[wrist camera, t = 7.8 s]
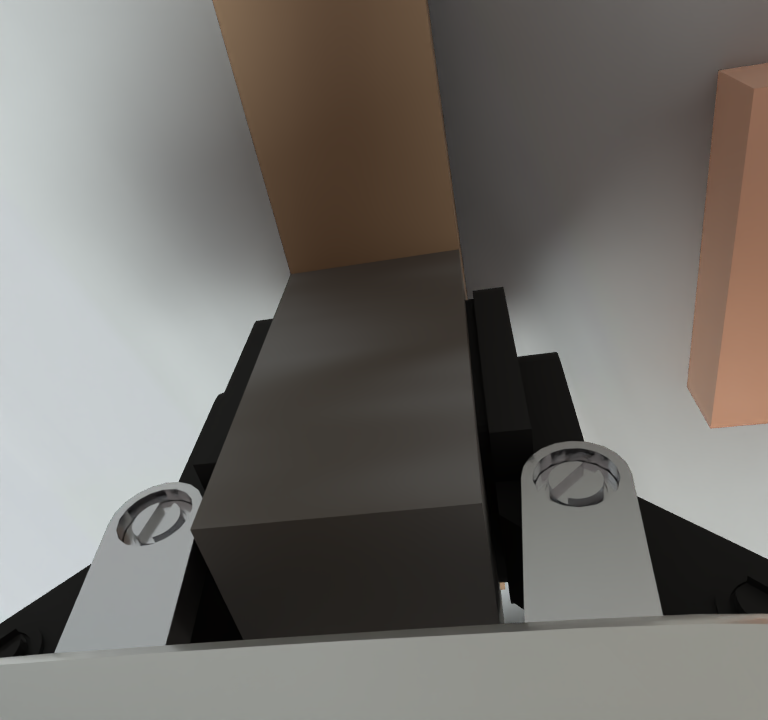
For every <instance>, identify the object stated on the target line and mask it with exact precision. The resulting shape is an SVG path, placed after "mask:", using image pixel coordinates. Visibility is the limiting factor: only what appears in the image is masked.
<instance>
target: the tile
mask: <svg viewBox="0 0 768 720" xmlns="http://www.w3.org/2000/svg"><path fill="white" fill-rule="evenodd" d="M687 388H688V389H689V391H690V393H691V395H692V397H693V398H694V400H695V402H696V404H697V405H698V407H699V409H700V411H701V413H702V414H703V416H704V418H705V420H706V421H707V423H708V425H709V427H710V428H721V427H732V426H743V425H755V424H766V423H768V63H763V64H756V65H750V66H743V67H737V68H731V69H724V70H718V80H717V90H716V100H715V110H714V120H713V131H712V141H711V151H710V161H709V171H708V181H707V191H706V201H705V211H704V221H703V231H702V241H701V251H700V261H699V271H698V281H697V291H696V301H695V311H694V321H693V331H692V341H691V351H690V361H689V371H688V381H687Z"/></svg>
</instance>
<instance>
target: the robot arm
mask: <svg viewBox="0 0 768 720" xmlns="http://www.w3.org/2000/svg"><path fill="white" fill-rule="evenodd" d="M473 298H474V299H470V300H465V304H466V314H467V325H468V336H469V346H470V357H471V368H472V379H473V389H474V400H475V411H476V421H477V431H478V439H479V447H480V454H481V461H482V469H483V476H484V483H485V490H486V497H487V504H488V511H489V518H490V525H491V532H492V539H493V546H494V553H495V560H496V567H497V574H498V581H499V583H502V582H508V585H509V593H510V600H511V604H513V603H515V604H516V605H518V606H519V607H521V608H522V609H524V623H508V624H491V625H475V626H458V627H441V628H424V629H407V630H391V631H376V632H360V633H344V634H329V635H313V636H298V637H282V638H267V639H252V640H243V638H242V636H241V634H240V632H239V630H238V628H237V626H236V624H235V622H234V619H233V617H232V615H231V613H230V611H229V609H228V607H227V605H226V603H225V601H224V599H223V597H222V595H221V593H220V591H219V589H218V586H217V584H216V582H215V580H214V578H213V576H212V574H211V572H210V570H209V568H208V566H207V564H206V562H205V560H204V558H203V556H202V553H201V551H200V549H199V547H198V545H197V543H196V541H195V539H194V537H193V535H192V533H191V531H190V529H191V526H192V524H193V521H194V518H195V516H196V513H197V511H198V508H199V506H200V503H201V501H202V498H203V496H204V493H205V491H206V488H207V486H208V483H209V480H210V478H211V475H212V473H213V470H214V468H215V465H216V463H217V460H218V458H219V455H220V453H221V450H222V447H223V445H224V442H225V440H226V437H227V435H228V432H229V430H230V427H231V425H232V422H233V420H234V417H235V414H236V412H237V409H238V407H239V404H240V402H241V399H242V397H243V394H244V392H245V389H246V387H247V384H248V382H249V379H250V376H251V374H252V371H253V369H254V366H255V364H256V361H257V359H258V356H259V354H260V351H261V349H262V346H263V343H264V341H265V338H266V336H267V333H268V331H269V328H270V326H271V323H272V321H273V319H268V320H261V321H256V322H255V324H254V326H253V328H252V330H251V333H250V335H249V337H248V340H247V342H246V344H245V346H244V349H243V351H242V353H241V356H240V358H239V360H238V363H237V365H236V367H235V369H234V372H233V374H232V376H231V379H230V381H229V383H228V386H227V388H226V390H225V392H224V393H222V394H219V395H218V397H217V398H216V400H215V402H214V404H213V406H212V408H211V411H210V413H209V415H208V417H207V420H206V422H205V424H204V426H203V428H202V431H201V433H200V435H199V437H198V440H197V442H196V444H195V446H194V449H193V451H192V453H191V455H190V457H189V460H188V462H187V464H186V466H185V469H184V471H183V473H182V475H181V478H180V480H179V482H173V483H164V484H160V485H157V486H153V487H151V488H148V489H146V490H144V491H142V492H140V493H138V494H137V495H135V496H134V497H132V498H131V499H129V500H128V501H127V502H125V503H124V504H123V505H122V506H121V507H120V508H119V509H118V510H117V511H116V512H115V514H114V515H113V517H112V519H111V520H110V522H109V524H108V526H107V528H106V531H105V533H104V535H103V538H102V540H101V543H100V545H99V547H98V550H97V552H96V554H95V557H94V559H93V562H92V564H90V565H89V566H87V567H86V568H84V569H83V570H81V571H80V572H78V573H77V574H75V575H74V576H72V577H71V578H69V579H68V580H66V581H65V582H63V583H62V584H60V585H58V586H57V587H55V588H54V589H52V590H51V591H49V592H48V593H46V594H45V595H43V596H42V597H40V598H39V599H37V600H36V601H34V602H33V603H31V604H30V605H28V606H26V607H25V608H23V609H22V610H20V611H19V612H17V613H16V614H14V615H13V616H11V617H10V618H8V619H7V620H5V621H4V622H2V623H1V624H0V720H768V559H766V558H764V557H762V556H760V555H758V554H756V553H754V552H752V551H750V550H748V549H746V548H743V547H741V546H739V545H737V544H735V543H733V542H731V541H729V540H727V539H725V538H723V537H721V536H719V535H716V534H714V533H712V532H710V531H708V530H706V529H704V528H702V527H700V526H698V525H696V524H694V523H691V522H689V521H687V520H685V519H683V518H681V517H679V516H677V515H675V514H673V513H671V512H669V511H667V510H664V509H662V508H660V507H658V506H656V505H654V504H652V503H650V502H648V501H646V500H644V499H642V498H640V497H637V494H636V490H635V485H634V480H633V476H632V473H631V471H630V469H629V466H628V464H627V463H626V462H625V461H624V460H623V459H622V458H621V457H620V456H619V455H618V454H617V453H615V452H614V451H612V450H610V449H608V448H606V447H604V446H601V445H597V444H594V443H590V442H584V439H583V436H582V432H581V429H580V426H579V422H578V419H577V416H576V412H575V409H574V405H573V402H572V399H571V395H570V392H569V389H568V385H567V382H566V379H565V375H564V372H563V368H562V365H561V362H560V358H559V356H558V353H557V352H553V353H544V354H536V355H528V356H520V357H517V354H516V349H515V344H514V339H513V334H512V329H511V324H510V319H509V314H508V309H507V304H506V299H505V294H504V289H503V287H499V288H492V289H484V290H477V291H473Z"/></svg>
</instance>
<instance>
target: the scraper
mask: <svg viewBox="0 0 768 720" xmlns="http://www.w3.org/2000/svg"><path fill="white" fill-rule="evenodd" d="M212 1H213V4H214V8H215V11H216V15H217V18H218V22H219V25H220V29H221V32H222V36H223V39H224V43H225V46H226V50H227V53H228V57H229V60H230V64H231V67H232V71H233V74H234V78H235V81H236V85H237V88H238V92H239V95H240V99H241V102H242V106H243V109H244V113H245V116H246V119H247V123H248V126H249V130H250V133H251V137H252V140H253V144H254V147H255V151H256V154H257V158H258V161H259V165H260V168H261V172H262V175H263V179H264V182H265V186H266V189H267V193H268V196H269V200H270V203H271V207H272V210H273V214H274V217H275V221H276V224H277V228H278V231H279V235H280V238H281V241H282V245H283V248H284V252H285V255H286V259H287V262H288V266H289V269H290V273H291V275H290V278H289V280H288V283H287V285H286V288H285V290H284V293H283V295H282V298H281V300H280V303H279V305H278V308H277V311H276V313H275V316H274V318H273V321H272V323H271V326H270V328H269V331H268V333H267V336H266V338H265V341H264V343H263V346H262V349H261V351H260V354H259V356H258V359H257V361H256V364H255V366H254V369H253V371H252V374H251V376H250V379H249V382H248V384H247V387H246V389H245V392H244V394H243V397H242V399H241V402H240V404H239V407H238V409H237V412H236V414H235V417H234V420H233V422H232V425H231V427H230V430H229V432H228V435H227V437H226V440H225V442H224V445H223V447H222V450H221V453H220V455H219V458H218V460H217V463H216V465H215V468H214V470H213V473H212V475H211V478H210V480H209V483H208V486H207V488H206V491H205V493H204V496H203V498H202V501H201V503H200V506H199V508H198V511H197V513H196V516H195V518H194V521H193V524H192V526H191V529H190V531H191V533H192V535H193V537H194V539H195V541H196V543H197V545H198V547H199V549H200V551H201V553H202V556H203V558H204V560H205V562H206V564H207V566H208V568H209V570H210V572H211V574H212V576H213V578H214V580H215V582H216V584H217V586H218V589H219V591H220V593H221V595H222V597H223V599H224V601H225V603H226V605H227V607H228V609H229V611H230V613H231V615H232V617H233V619H234V622H235V624H236V626H237V628H238V630H239V632H240V634H241V636H242V638H243V640H252V639H267V638H282V637H298V636H313V635H329V634H344V633H360V632H376V631H391V630H407V629H424V628H441V627H458V626H475V625H491V624H504V617H503V608H502V598H501V590H503V589H505V582H502V583H499V581H498V574H497V567H496V560H495V553H494V546H493V539H492V532H491V525H490V518H489V511H488V504H487V497H486V490H485V483H484V476H483V469H482V461H481V454H480V447H479V439H478V431H477V421H476V411H475V400H474V389H473V379H472V368H471V357H470V346H469V336H468V325H467V314H466V304H465V300H468V298H467V290H466V283H465V275H464V268H463V260H462V253H461V246H460V238H459V231H458V223H457V216H456V208H455V201H454V193H453V186H452V178H451V171H450V163H449V156H448V149H447V141H446V134H445V126H444V119H443V111H442V104H441V96H440V89H439V81H438V74H437V66H436V59H435V52H434V44H433V37H432V29H431V22H430V14H429V7H428V0H212Z"/></svg>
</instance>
